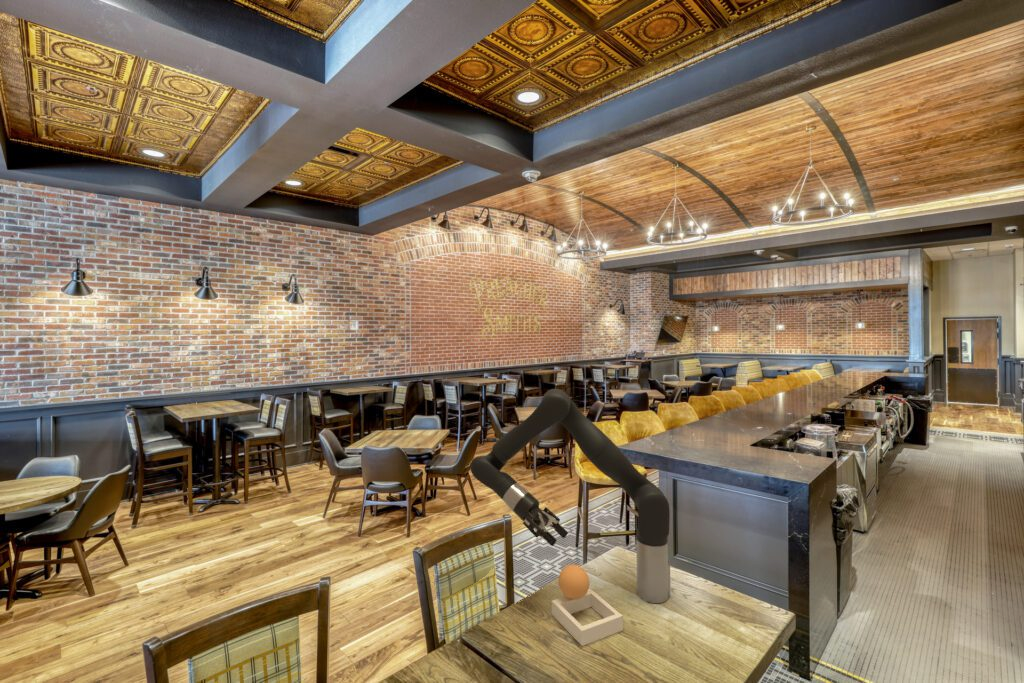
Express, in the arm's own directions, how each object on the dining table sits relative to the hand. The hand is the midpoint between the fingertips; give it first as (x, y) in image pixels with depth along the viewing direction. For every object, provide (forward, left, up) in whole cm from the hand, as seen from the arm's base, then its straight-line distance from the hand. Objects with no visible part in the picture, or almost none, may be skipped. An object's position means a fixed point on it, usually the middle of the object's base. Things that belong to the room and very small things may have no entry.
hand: (560, 539), depth 132 cm
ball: (-3, +2, -12) cm, 13 cm away
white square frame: (-3, +8, -21) cm, 22 cm away
